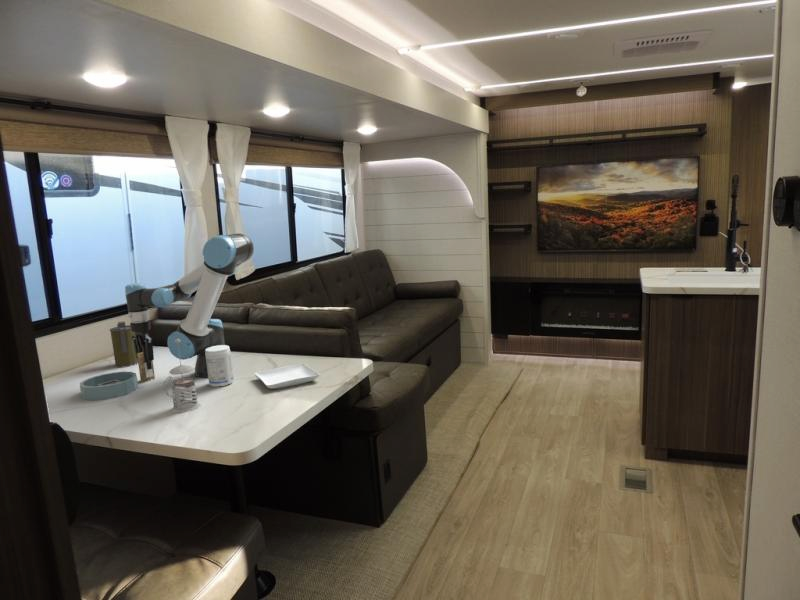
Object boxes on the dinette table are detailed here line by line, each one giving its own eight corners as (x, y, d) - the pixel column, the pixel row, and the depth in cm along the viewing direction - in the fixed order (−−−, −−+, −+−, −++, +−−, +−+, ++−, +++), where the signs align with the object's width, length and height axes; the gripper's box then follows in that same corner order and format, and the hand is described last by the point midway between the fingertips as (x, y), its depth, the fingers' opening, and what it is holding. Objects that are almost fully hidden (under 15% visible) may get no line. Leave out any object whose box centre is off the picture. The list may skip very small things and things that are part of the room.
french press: (205, 406, 206) (197, 337, 201) (173, 416, 198) (164, 344, 194) (193, 400, 213) (184, 334, 208) (161, 410, 205) (152, 341, 201)
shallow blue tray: (147, 388, 232) (145, 376, 231) (95, 403, 217) (93, 390, 216) (123, 380, 245) (122, 369, 244) (73, 394, 229) (71, 382, 229)
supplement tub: (220, 379, 238) (216, 344, 235) (239, 380, 234) (235, 345, 231) (203, 386, 229) (199, 350, 227) (222, 388, 225) (218, 351, 223)
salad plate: (254, 380, 235) (253, 371, 234) (304, 370, 244) (303, 362, 244) (267, 393, 216) (266, 385, 216) (321, 382, 226) (320, 374, 225)
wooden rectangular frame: (155, 378, 244) (151, 351, 242) (143, 382, 241) (139, 354, 239) (152, 377, 246) (148, 350, 244) (140, 381, 242) (136, 353, 240)
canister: (115, 363, 274) (109, 322, 271) (139, 359, 279) (133, 318, 275) (114, 368, 265) (108, 325, 261) (139, 364, 269) (133, 322, 265)
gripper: (121, 321, 241) (129, 375, 245) (140, 324, 231) (148, 381, 235) (139, 317, 247) (146, 371, 251) (158, 320, 237) (165, 376, 241)
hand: (147, 375), depth 243 cm, fingers open, 3 cm apart
